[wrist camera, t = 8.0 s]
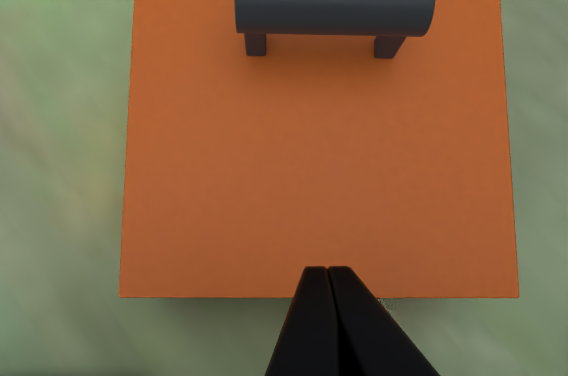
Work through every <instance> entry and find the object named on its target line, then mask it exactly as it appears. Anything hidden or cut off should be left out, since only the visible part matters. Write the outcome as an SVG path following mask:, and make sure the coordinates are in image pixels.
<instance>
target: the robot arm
mask: <svg viewBox="0 0 568 376" xmlns="http://www.w3.org/2000/svg"><path fill="white" fill-rule="evenodd" d="M265 376H440V375H439V373H438V372H437V371H436V370H435V369H434V367H433V366H432V365H431V364H430V362H429V361H428V360H427V359H426V358H425V356H424V355H423V354H422V353H421V352H420V350H419V349H418V348H417V347H416V346H415V344H414V343H413V342H412V341H411V340H410V338H409V337H408V336H407V335H406V334H405V332H404V331H403V330H402V329H401V328H400V326H399V325H398V324H397V323H396V321H395V320H394V319H393V318H392V317H391V315H390V314H389V313H388V312H387V311H386V309H385V308H384V307H383V306H382V305H381V303H380V302H379V301H378V300H377V299H376V297H375V296H374V295H373V294H372V293H371V291H370V290H369V289H368V288H367V286H366V285H365V284H364V283H363V282H362V280H361V279H360V278H359V277H358V276H357V274H356V273H355V272H354V271H353V270H352V268H351V267H349V266H329V267H328V268H326V267H325V266H306V267H305V268H304V270H303V272H302V275H301V278H300V281H299V283H298V286H297V289H296V291H295V294H294V297H293V300H292V302H291V305H290V308H289V311H288V313H287V316H286V319H285V321H284V324H283V327H282V330H281V332H280V335H279V338H278V341H277V343H276V346H275V349H274V351H273V354H272V357H271V360H270V362H269V365H268V368H267V371H266V373H265Z"/></svg>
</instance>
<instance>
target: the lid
mask: <svg viewBox="0 0 568 376" xmlns="http://www.w3.org/2000/svg"><path fill="white" fill-rule="evenodd" d="M306 266H325V267H326V268H328V267H329V266H349V267H351V268H352V270H353V271H354V272H355V273H356V274H357V276H358V277H359V278H360V279H361V280H362V282H363V283H364V284H365V285H366V286H367V288H368V289H369V290H370V291H371V293H372V294H373V295H374V296H375V297H376V298H518V297H519V282H518V267H517V252H516V236H515V221H514V206H513V190H512V175H511V160H510V144H509V129H508V114H507V99H506V83H505V68H504V53H503V37H502V22H501V7H500V0H134V12H133V31H132V50H131V69H130V88H129V107H128V126H127V146H126V165H125V184H124V203H123V222H122V241H121V260H120V279H119V297H121V298H293V297H294V294H295V291H296V289H297V286H298V283H299V281H300V278H301V275H302V272H303V270H304V268H305V267H306Z"/></svg>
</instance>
